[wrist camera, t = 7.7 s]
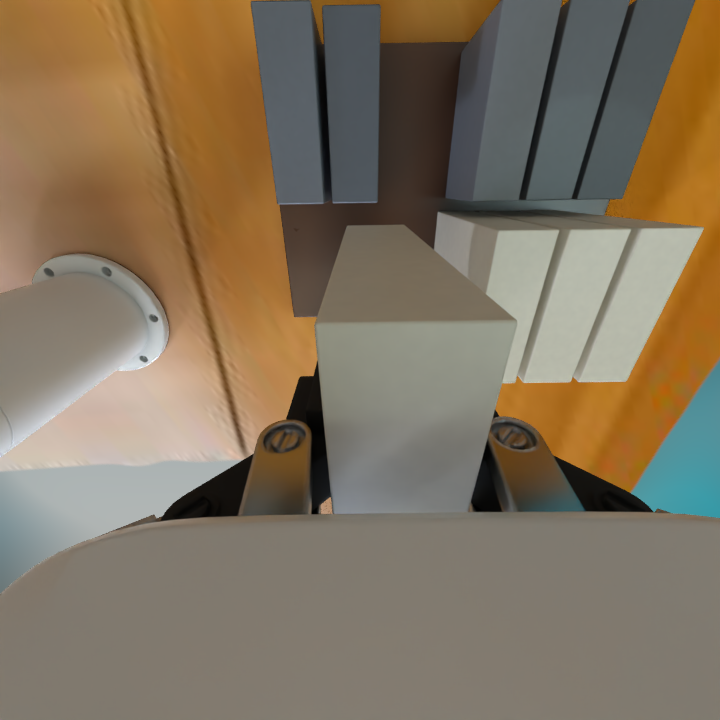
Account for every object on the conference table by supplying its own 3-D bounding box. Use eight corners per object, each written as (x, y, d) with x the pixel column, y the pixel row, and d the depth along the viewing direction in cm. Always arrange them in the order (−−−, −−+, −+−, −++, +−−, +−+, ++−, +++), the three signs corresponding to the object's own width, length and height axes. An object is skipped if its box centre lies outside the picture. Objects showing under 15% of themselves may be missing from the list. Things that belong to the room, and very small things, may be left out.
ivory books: (427, 310, 30) (467, 383, 19) (437, 211, 26) (498, 230, 15) (527, 309, 30) (626, 382, 19) (554, 209, 26) (705, 227, 15)
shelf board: (296, 312, 32) (293, 317, 31) (264, 53, 22) (258, 44, 21) (561, 308, 32) (570, 313, 31) (649, 46, 22) (667, 37, 21)
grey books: (296, 200, 26) (277, 204, 19) (281, 54, 21) (250, 0, 15) (564, 196, 25) (628, 199, 19) (605, 48, 21) (706, -8, 15)
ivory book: (351, 372, 20) (341, 608, 9) (346, 225, 16) (313, 322, 4) (396, 371, 20) (444, 607, 9) (404, 224, 16) (519, 320, 4)
